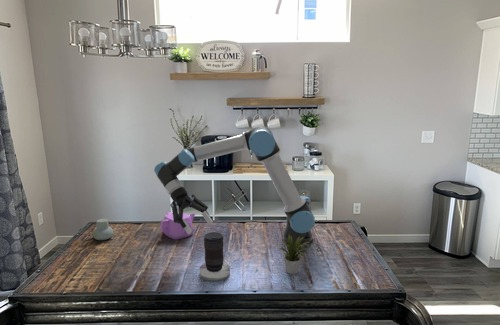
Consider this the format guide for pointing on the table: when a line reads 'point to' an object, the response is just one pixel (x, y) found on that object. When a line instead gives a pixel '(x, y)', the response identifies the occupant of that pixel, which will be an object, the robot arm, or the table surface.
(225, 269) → the cap plate
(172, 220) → the teakettle
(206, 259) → the camera lens
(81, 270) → the table surface
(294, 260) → the house plant
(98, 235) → the air freshener
